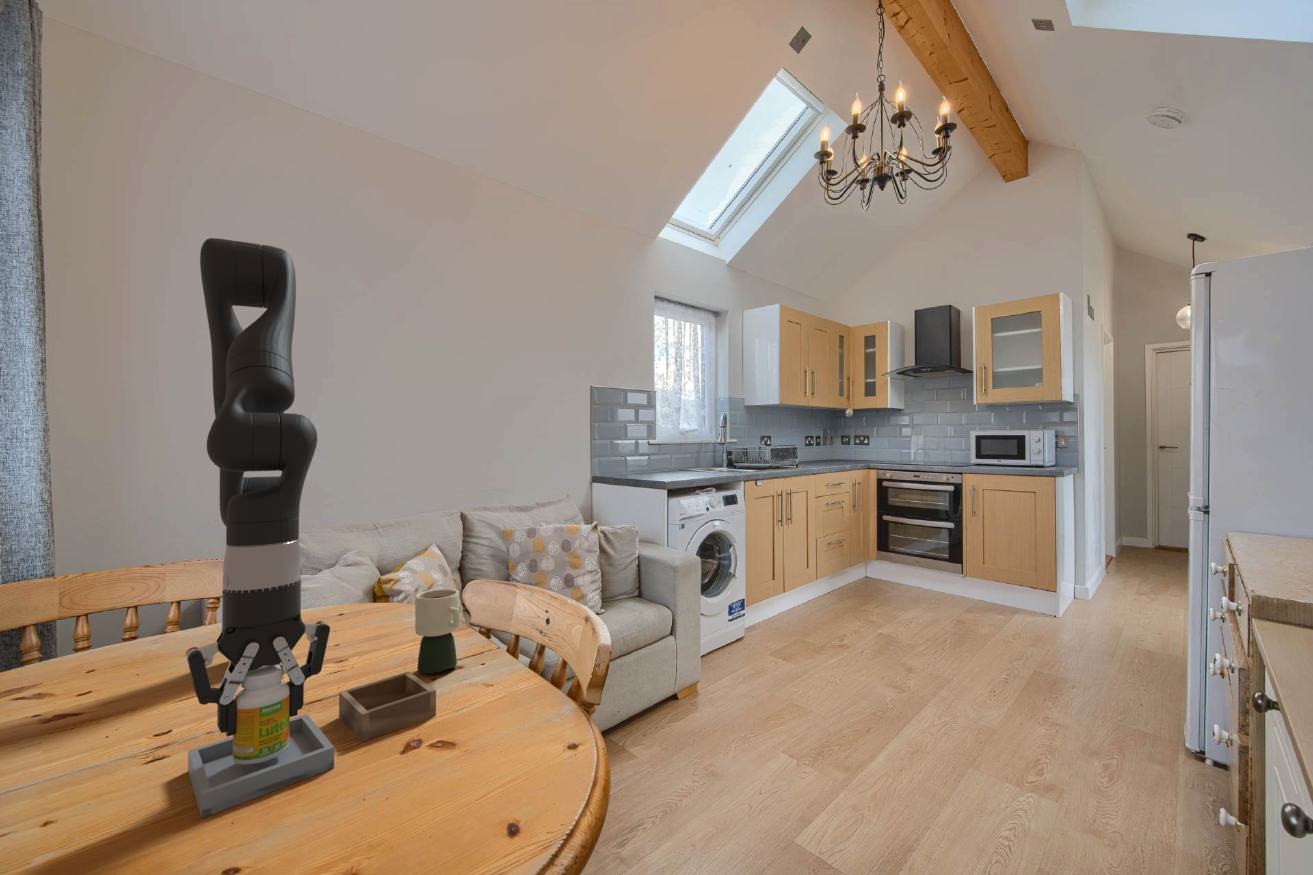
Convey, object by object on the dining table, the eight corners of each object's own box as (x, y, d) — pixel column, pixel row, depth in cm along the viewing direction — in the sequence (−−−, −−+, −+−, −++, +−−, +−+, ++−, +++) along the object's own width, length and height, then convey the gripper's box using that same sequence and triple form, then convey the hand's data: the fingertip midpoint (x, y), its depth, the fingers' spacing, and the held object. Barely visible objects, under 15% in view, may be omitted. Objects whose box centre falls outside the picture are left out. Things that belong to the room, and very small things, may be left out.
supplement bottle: (259, 769, 60) (260, 681, 60) (220, 763, 61) (221, 677, 61) (300, 743, 65) (301, 662, 65) (263, 739, 66) (264, 659, 67)
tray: (187, 771, 63) (188, 750, 63) (306, 732, 71) (307, 713, 71) (201, 818, 54) (201, 794, 55) (334, 767, 63) (334, 747, 63)
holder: (339, 717, 75) (339, 692, 75) (408, 694, 82) (409, 671, 82) (362, 742, 69) (362, 714, 69) (436, 715, 76) (436, 690, 76)
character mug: (475, 669, 92) (475, 593, 92) (439, 684, 86) (439, 603, 86) (435, 657, 98) (435, 585, 98) (399, 670, 92) (399, 594, 92)
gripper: (323, 565, 71) (322, 693, 71) (179, 585, 61) (177, 736, 61) (340, 574, 66) (339, 712, 66) (186, 597, 56) (184, 762, 55)
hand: (261, 723), depth 63 cm, fingers closed on supplement bottle, 5 cm apart
